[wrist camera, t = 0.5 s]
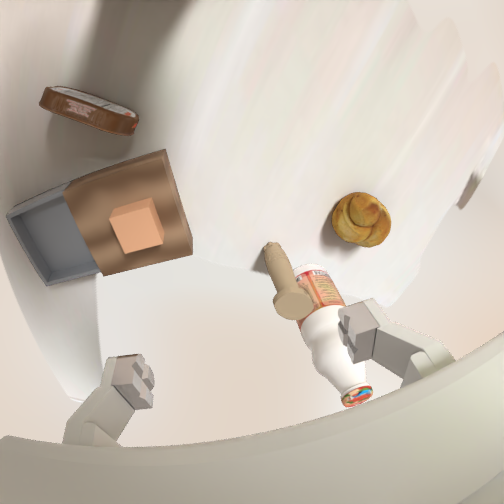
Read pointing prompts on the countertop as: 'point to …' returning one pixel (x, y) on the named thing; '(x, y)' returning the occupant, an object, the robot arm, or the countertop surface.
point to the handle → (286, 285)
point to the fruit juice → (329, 336)
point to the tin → (89, 110)
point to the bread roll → (361, 220)
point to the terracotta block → (137, 225)
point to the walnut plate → (122, 193)
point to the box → (52, 237)
